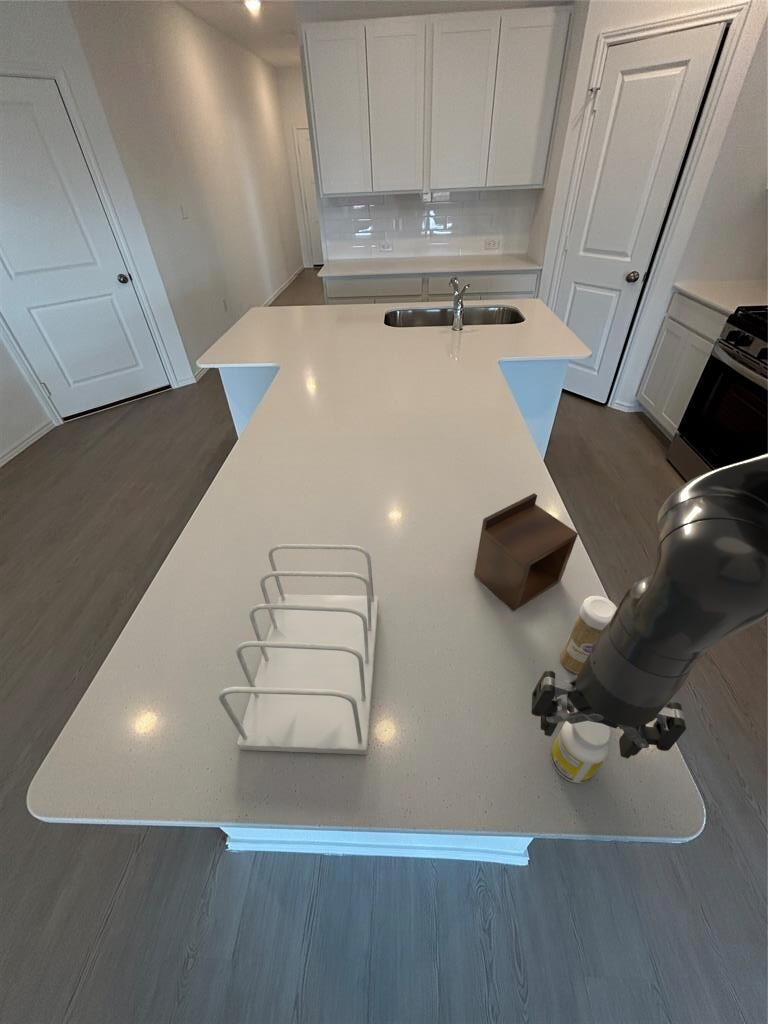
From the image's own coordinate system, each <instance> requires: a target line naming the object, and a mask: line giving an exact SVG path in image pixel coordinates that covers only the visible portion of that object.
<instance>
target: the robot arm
mask: <svg viewBox="0 0 768 1024" xmlns="http://www.w3.org/2000/svg"><path fill="white" fill-rule="evenodd" d="M658 509H659V510H658V512H657V516H656V554H657V557H656V558H657V559H656V560H657V562H656V566H655V571H654V573H653V574H649V575H647V576H644V577H642V578H640V579H638V580H636V581H635V582H633V584H632V585H631V586H630V587H629V588H628V589H627V591H626V592H625V593H624V595H623V597H622V598H621V600H620V602H619V604H618V606H616V607H617V609H616V611H615V613H614V615H613V617H612V618H611V620H610V621H609V623H608V624H607V625H606V626H605V627H604V628H603V630H602V631H601V633H600V634H599V636H598V638H597V640H595V642H594V643H593V645H592V648H591V651H590V653H589V655H588V657H587V659H586V661H585V662H584V664H583V666H582V668H581V670H580V673H579V674H577V677H576V678H574V679H572V680H570V681H569V682H566V681H564V680H560V679H556V673H555V672H554V671H553V670H545V671H543V674H541V677H540V678H539V680H538V682H537V684H536V686H534V689H533V691H532V693H531V711H530V712H531V715H533V716H535V717H540V725H539V727H540V730H541V731H544V733H543V734H544V736H547V737H552V735H553V734H554V732H555V730H556V728H557V727H558V725H559V724H560V723H563V722H564V723H565V722H566V721H567V722H569V723H570V724H575V723H580V722H584V721H591V722H595V723H602V724H604V725H607V726H609V727H610V728H613V729H617V728H618V729H620V730H622V732H623V734H622V735H621V736H620V737H619V740H618V745H619V746H618V747H619V756H620V757H621V758H624V759H630V757H632V756H636V755H638V754H639V753H640V752H641V751H642V750H643V749H648V748H650V746H655V747H656V749H657V750H659V751H661V752H668V751H670V750H671V749H672V748H673V746H674V745H675V744H676V742H677V741H679V739H680V738H681V736H683V734H684V733H685V732H686V730H687V725H686V720H685V714H684V712H683V708H682V704H681V703H679V702H675V701H671V700H672V698H673V697H674V696H675V695H676V694H677V693H678V692H679V691H680V689H681V688H682V687H683V685H684V684H685V682H686V681H687V679H688V677H689V676H690V672H691V671H692V670H693V668H694V667H695V666H696V665H697V664H698V663H699V661H701V659H702V658H703V657H704V655H705V654H706V653H707V652H708V651H709V649H710V648H711V646H713V645H715V644H718V643H720V642H723V641H724V640H726V639H728V638H730V637H732V636H735V635H736V634H738V633H740V632H742V631H743V630H745V629H748V628H750V627H751V626H754V625H755V624H757V623H759V622H760V621H762V620H764V619H765V618H766V617H767V616H768V452H766V453H764V454H761V455H758V456H754V457H751V458H748V459H745V460H741V461H738V462H735V463H732V464H728V465H725V466H721V467H719V468H716V469H713V470H710V471H707V472H705V473H702V474H700V475H698V476H696V477H693V478H692V479H690V480H689V481H687V482H685V483H684V484H682V485H681V486H679V487H678V488H677V489H676V490H674V491H673V492H672V493H671V494H670V495H668V497H666V499H665V500H664V501H663V502H662V504H661V506H660V508H658ZM670 701H671V702H670ZM559 707H561V709H560V710H559ZM575 709H576V711H575ZM655 719H656V720H655ZM653 721H654V723H653V725H652V726H647V725H648V724H650V723H651V722H653Z"/></svg>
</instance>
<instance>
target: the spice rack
mask: <svg viewBox="0 0 768 1024" xmlns="http://www.w3.org/2000/svg"><path fill="white" fill-rule="evenodd" d="M537 499H538V494H536V493H532V494H530V495H528V496H526V497H523V498H522V499H519V500H517V501H516V502H514V503H512V504H509V505H507V506H505V507H504V508H502V509H500V510H498V511H496V512H494V513H492V514H490V515H488V516H485V517H484V518H482V524H481V531H480V536H479V537H480V538H479V542H478V547H477V554H476V562H475V567H474V573H473V576H475V577H476V578H477V579H478V580H479V581H480V582H481V583H482V584H483V585H484V586H485V587H486V588H487V589H489V591H491V592H492V593H493V594H494V595H495V596H496V597H497V598H498V599H499V600H500V601H501V602H502V603H504V604H505V605H506V606H507V607H508V608H509V609H510V610H511V611H512V612H515V611H517V610H518V609H520V608H521V607H523V606H524V605H526V604H527V603H529V602H530V601H532V600H534V599H535V598H537V597H538V596H540V595H542V594H543V593H546V591H548V590H549V589H551V588H553V587H554V586H556V585H558V584H559V583H560V582H561V581H562V579H563V576H564V573H565V570H566V568H567V565H568V563H569V560H570V557H571V554H572V551H573V549H574V546H575V543H576V540H577V538H578V535H579V533H578V532H577V531H576V530H574V529H572V528H571V527H569V526H568V525H567V524H565V523H564V522H562V521H561V520H559V518H556V517H554V516H553V515H552V514H550V513H549V512H548V511H546V510H545V509H543V508H541V506H539V505H538V504H536V502H537Z"/></svg>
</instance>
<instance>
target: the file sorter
mask: <svg viewBox="0 0 768 1024" xmlns="http://www.w3.org/2000/svg"><path fill="white" fill-rule="evenodd" d="M288 549H289V550H347V551H348V550H349V551H350V550H352V551H358V552H360V553H362V554H364V556H365V558H366V563H367V574H368V578H366V576H364V575H363V574H361V573H358V572H350V571H295V570H294V571H291V570H289V571H288V570H277V567H276V563H275V559H274V557H273V553H274V552H275V551H278V550H288ZM371 558H372V557H371V554H370V553H369V551H368V550H367V549H365V548H364V547H362V546H359V545H355V544H315V543H314V544H313V543H311V544H308V543H303V544H302V543H281V544H275V545H274V546H272V547H271V548H270V549H269V551H268V559H269V563H270V567H271V569H272V571H269V572H266V573H264V574H263V575H262V577H261V579H260V585H259V586H260V589H261V592H262V595H263V598H264V601H265V603H260V604H257V605H255V606H253V607H252V608H251V609H250V610H249V614H248V615H249V620H250V623H251V626H252V629H253V631H254V634H255V637H256V640H250V641H249V640H248V641H244V642H242V643H240V644H238V646H237V648H236V651H235V652H236V657H237V659H238V662H239V664H240V666H241V669H242V671H243V673H244V675H245V678H246V681H247V682H248V684H249V685H248V686H231V687H230V686H229V687H226V688H224V689H223V690H221V691H220V693H219V696H218V700H219V702H220V704H221V706H222V707H223V709H224V710H225V712H226V714H227V716H228V717H229V718H230V720H231V722H232V724H233V725H234V726H235V729H236V730H237V732H238V733H239V734H238V738H237V741H236V745H237V747H238V749H239V750H240V751H261V752H262V751H265V752H288V753H290V752H292V753H314V754H315V753H317V754H337V755H338V754H341V755H362V756H363V755H364V756H365V755H368V753H369V740H370V739H369V738H370V725H371V724H370V723H371V712H372V697H373V686H374V685H373V684H374V670H375V659H376V657H375V656H376V643H377V630H378V617H379V603H380V602H379V597H378V596H377V595H374V582H373V570H372V560H371ZM273 577H274V579H275V583H276V586H277V589H278V592H279V595H278V598H277V602H276V603H271V601H270V597H269V594H268V590H267V587H266V580H268V579H269V578H273ZM280 577H313V578H314V577H319V578H320V577H321V578H323V577H324V578H327V577H328V578H352V579H353V578H354V579H358V580H360V581H362V582H363V583H364V584H365V588H366V595H351V594H350V595H345V594H293V593H292V594H291V593H285V594H284V590H283V587H282V583H281V580H280ZM260 610H267V611H268V615H269V617H270V620H271V623H270V627H269V630H268V633H267V637H266V640H265V641H263V637H262V634H261V633H260V628H259V625H258V623H257V620H256V617H255V613H256V612H258V611H260ZM247 648H260V651H261V654H262V655H261V658H260V661H259V665H258V667H257V672H256V674H255V679H253V677H252V674H251V672H250V670H249V667H248V665H247V662H246V659H245V658H244V655H243V653H242V650H244V649H247ZM230 694H250V696H249V700H248V703H247V705H246V706H247V707H246V710H245V713H244V716H243V721H242V723H241V722H240V720H239V718H238V716H237V715H236V713H235V712H234V710H233V709H232V707H231V705H230V703H229V701H228V700H227V698H226V696H227V695H230Z"/></svg>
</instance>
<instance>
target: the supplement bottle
mask: <svg viewBox="0 0 768 1024" xmlns="http://www.w3.org/2000/svg"><path fill="white" fill-rule="evenodd" d="M611 736H612V731H611V727H609V726H607V725H604V724H602V723H595V722H591V721H584V722H580V723H575V724H570V723H569V722H567V721H564V723H563V725H562V727H561V729H560V731H559V732H558V735H557V737H556V739H555V740H554V743H553V744H552V747H551V750H550V758H551V763H552V765H553V767H554V769H555V770H556V773H558V774H559V775H560V776H561V777H562V778H564V779H565V780H567V781H569V782H571V783H575V784H583V783H586V782H588V781H589V780H591V779H592V778H593V776H594V775H595V774H596V772H597V771H598V769H599V768H600V767H601V766H602V764H603V763H604V761H606V759H607V758H608V756H609V753H610V751H611V743H610V742H611V741H610V740H611Z"/></svg>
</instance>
